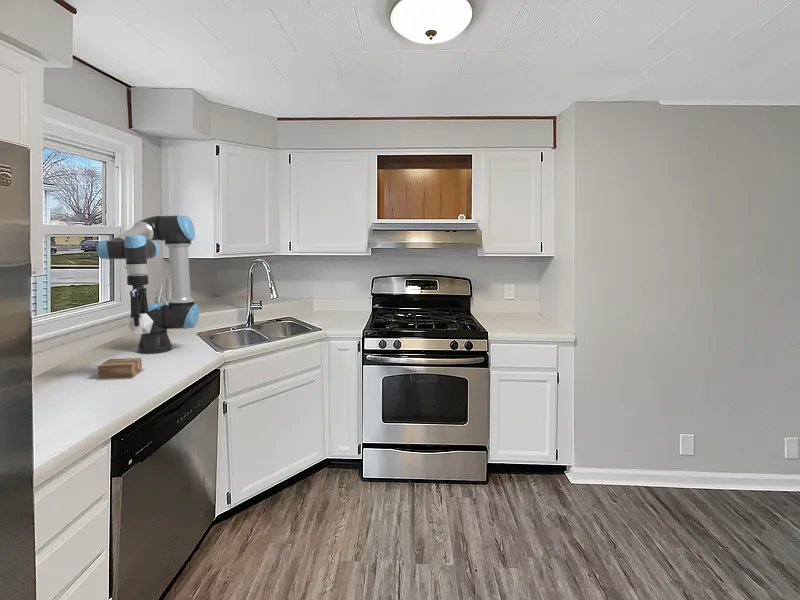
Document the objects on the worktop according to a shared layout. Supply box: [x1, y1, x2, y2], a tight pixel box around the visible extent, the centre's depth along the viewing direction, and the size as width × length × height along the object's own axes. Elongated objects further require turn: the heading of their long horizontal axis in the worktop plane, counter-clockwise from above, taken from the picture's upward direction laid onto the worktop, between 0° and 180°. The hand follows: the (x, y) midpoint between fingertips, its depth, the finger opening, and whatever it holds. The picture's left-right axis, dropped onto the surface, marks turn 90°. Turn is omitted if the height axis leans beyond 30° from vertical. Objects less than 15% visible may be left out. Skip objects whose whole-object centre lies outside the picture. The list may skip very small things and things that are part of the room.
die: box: [128, 313, 153, 336], centre depth 216 cm, size 8×9×10 cm
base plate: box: [95, 368, 145, 382], centre depth 215 cm, size 16×13×1 cm
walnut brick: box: [97, 357, 143, 379], centre depth 215 cm, size 12×12×5 cm
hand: (141, 332), depth 217 cm, fingers closed on die, 8 cm apart
